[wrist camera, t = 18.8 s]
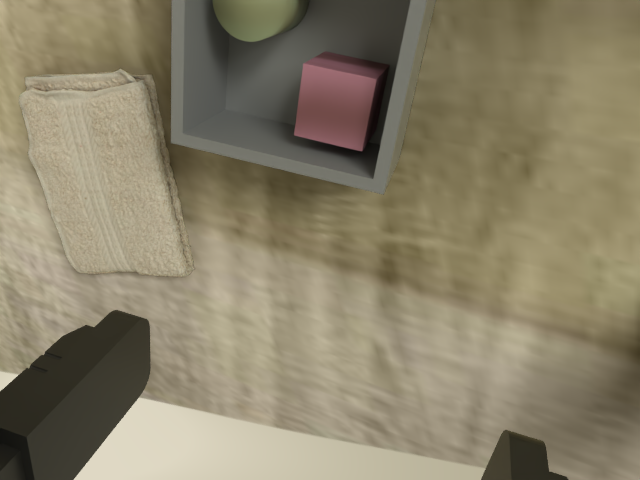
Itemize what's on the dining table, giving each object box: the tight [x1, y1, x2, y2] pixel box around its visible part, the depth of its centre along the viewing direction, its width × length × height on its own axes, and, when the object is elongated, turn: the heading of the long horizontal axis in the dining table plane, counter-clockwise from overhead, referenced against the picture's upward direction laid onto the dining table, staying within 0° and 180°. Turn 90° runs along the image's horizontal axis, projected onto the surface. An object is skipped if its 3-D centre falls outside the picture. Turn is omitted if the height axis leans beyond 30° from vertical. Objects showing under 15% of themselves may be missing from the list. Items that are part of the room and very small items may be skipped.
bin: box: [171, 0, 436, 195], centre depth 33 cm, size 13×14×7 cm
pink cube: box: [294, 51, 390, 151], centre depth 34 cm, size 4×4×5 cm
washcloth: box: [19, 69, 195, 277], centre depth 44 cm, size 12×18×3 cm, turn 6°
